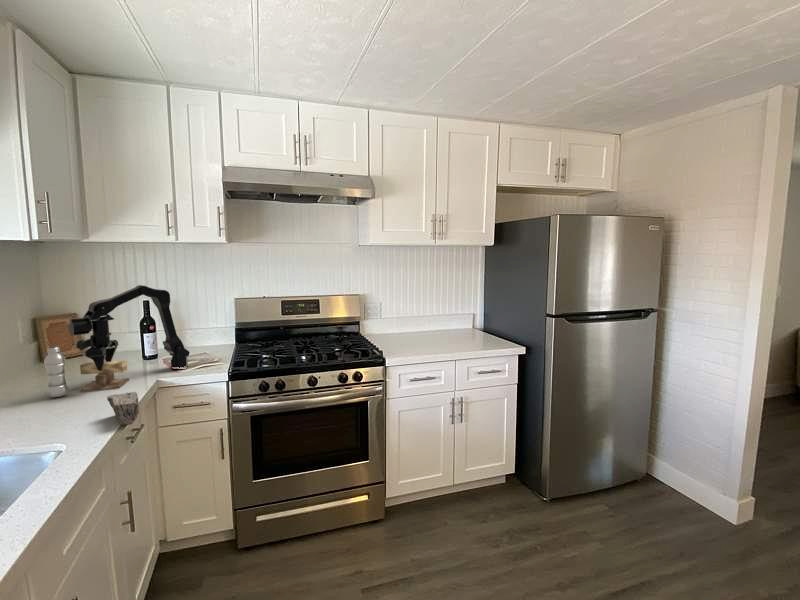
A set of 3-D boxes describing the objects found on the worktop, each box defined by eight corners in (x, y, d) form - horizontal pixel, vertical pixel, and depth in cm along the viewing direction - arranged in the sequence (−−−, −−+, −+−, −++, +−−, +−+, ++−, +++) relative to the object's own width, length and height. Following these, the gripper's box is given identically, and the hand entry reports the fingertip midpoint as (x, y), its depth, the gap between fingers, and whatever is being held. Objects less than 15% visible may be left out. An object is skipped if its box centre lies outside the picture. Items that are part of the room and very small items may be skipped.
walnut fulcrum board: (129, 380, 188) (128, 366, 187) (119, 388, 176) (118, 374, 176) (92, 382, 184) (91, 369, 183) (80, 391, 172) (79, 377, 172)
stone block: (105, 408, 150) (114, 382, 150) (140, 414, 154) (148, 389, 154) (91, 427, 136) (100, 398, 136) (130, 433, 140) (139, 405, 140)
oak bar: (127, 369, 183) (126, 360, 182) (122, 372, 179) (122, 363, 178) (86, 371, 180) (85, 362, 179) (80, 374, 176) (79, 365, 175)
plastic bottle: (47, 396, 167) (41, 347, 165) (68, 392, 172) (63, 344, 169) (47, 400, 162) (41, 350, 160) (69, 396, 167) (64, 347, 164)
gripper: (88, 328, 184) (91, 363, 186) (67, 337, 166) (71, 375, 168) (117, 327, 187) (120, 361, 189) (100, 335, 169) (104, 373, 171)
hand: (104, 367), depth 179 cm, fingers open, 9 cm apart
